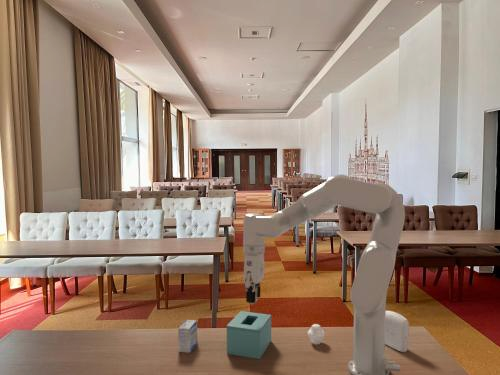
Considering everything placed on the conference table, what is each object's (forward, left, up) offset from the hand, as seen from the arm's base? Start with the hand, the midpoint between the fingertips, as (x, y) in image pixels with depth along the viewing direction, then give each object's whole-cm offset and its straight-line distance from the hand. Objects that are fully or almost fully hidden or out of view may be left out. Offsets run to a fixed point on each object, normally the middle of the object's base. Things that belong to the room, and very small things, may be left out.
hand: (253, 299), depth 141 cm
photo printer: (-47, -18, -18) cm, 54 cm away
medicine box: (+23, +6, -18) cm, 30 cm away
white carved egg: (-20, -12, -18) cm, 30 cm away
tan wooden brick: (0, 0, -1) cm, 1 cm away
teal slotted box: (+2, -1, -18) cm, 18 cm away
